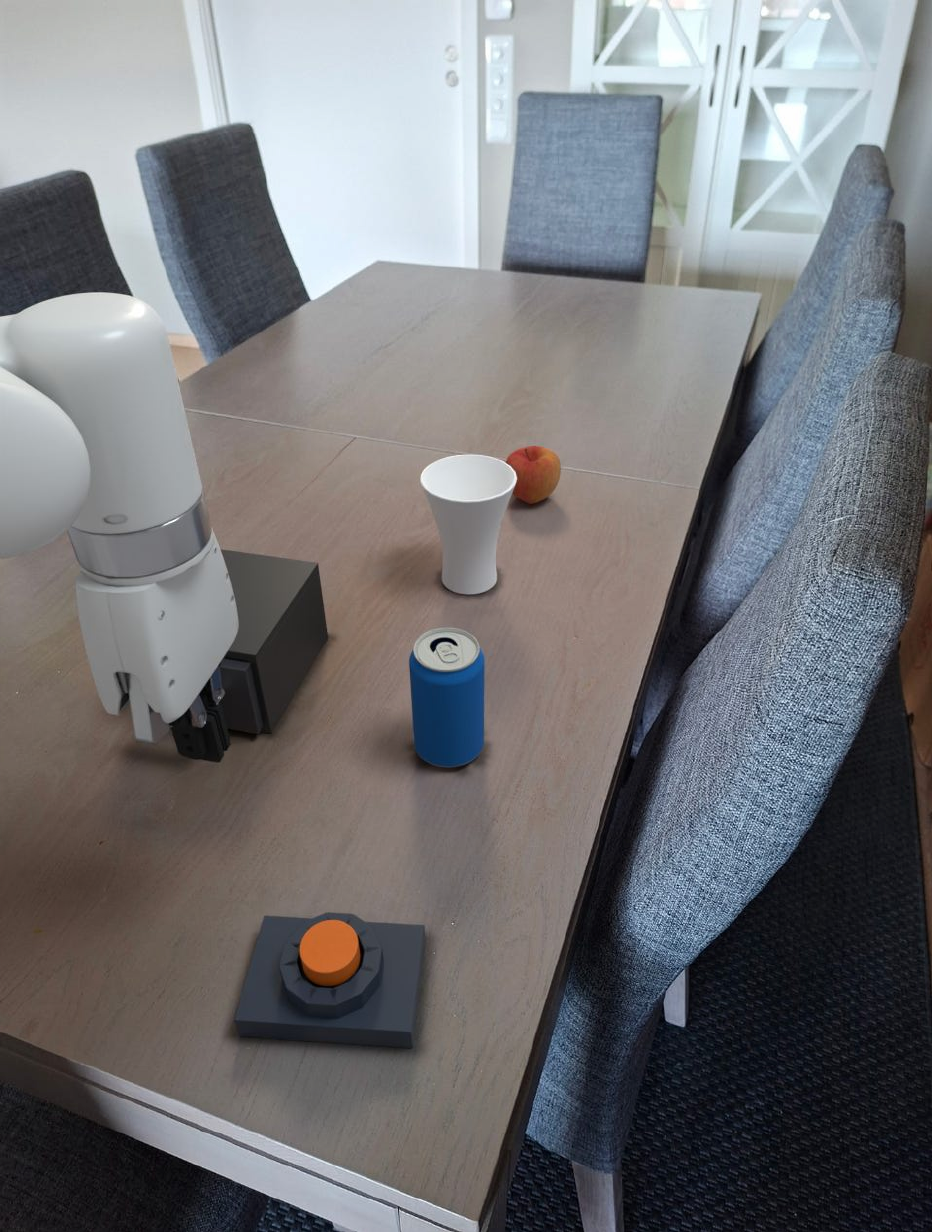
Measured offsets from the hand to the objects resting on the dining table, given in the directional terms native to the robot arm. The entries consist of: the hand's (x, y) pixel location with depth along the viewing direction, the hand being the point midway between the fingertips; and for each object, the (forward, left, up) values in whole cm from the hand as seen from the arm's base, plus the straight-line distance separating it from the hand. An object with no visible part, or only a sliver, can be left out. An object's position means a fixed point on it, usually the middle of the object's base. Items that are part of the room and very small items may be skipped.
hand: (205, 750), depth 61 cm
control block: (+9, -8, -15) cm, 20 cm away
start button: (+9, -8, -12) cm, 17 cm away
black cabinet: (-7, +25, -15) cm, 30 cm away
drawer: (-7, +21, -14) cm, 26 cm away
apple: (+22, +62, -15) cm, 67 cm away
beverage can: (+15, +16, -15) cm, 27 cm away
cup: (+15, +43, -15) cm, 48 cm away
